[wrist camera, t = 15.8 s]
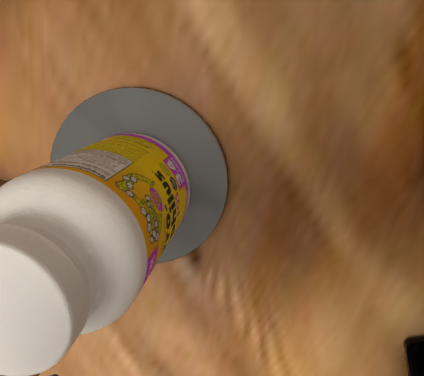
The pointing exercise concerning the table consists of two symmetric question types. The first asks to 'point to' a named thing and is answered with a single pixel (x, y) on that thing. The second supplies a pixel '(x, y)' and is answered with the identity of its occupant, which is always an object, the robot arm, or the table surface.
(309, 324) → the table surface
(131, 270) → the supplement bottle
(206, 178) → the slate coaster
